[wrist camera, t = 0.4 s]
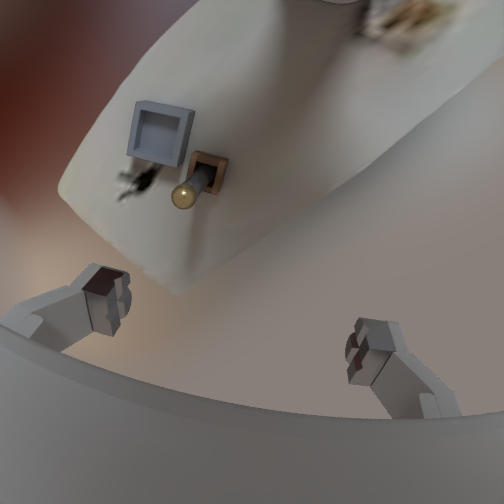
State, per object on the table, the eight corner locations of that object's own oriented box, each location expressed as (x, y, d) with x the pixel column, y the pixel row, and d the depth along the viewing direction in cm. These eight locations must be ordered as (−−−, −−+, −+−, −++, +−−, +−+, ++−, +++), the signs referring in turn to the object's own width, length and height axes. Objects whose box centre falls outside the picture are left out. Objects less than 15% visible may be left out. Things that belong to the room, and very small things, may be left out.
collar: (196, 150, 54) (191, 154, 51) (228, 159, 54) (225, 163, 51) (189, 181, 57) (184, 185, 54) (220, 189, 57) (216, 195, 54)
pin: (201, 158, 54) (170, 185, 40) (220, 163, 54) (195, 192, 40) (197, 176, 56) (165, 209, 42) (215, 182, 56) (189, 216, 42)
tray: (144, 100, 50) (136, 101, 47) (195, 111, 50) (189, 112, 47) (134, 151, 55) (126, 155, 52) (182, 163, 55) (176, 168, 52)
